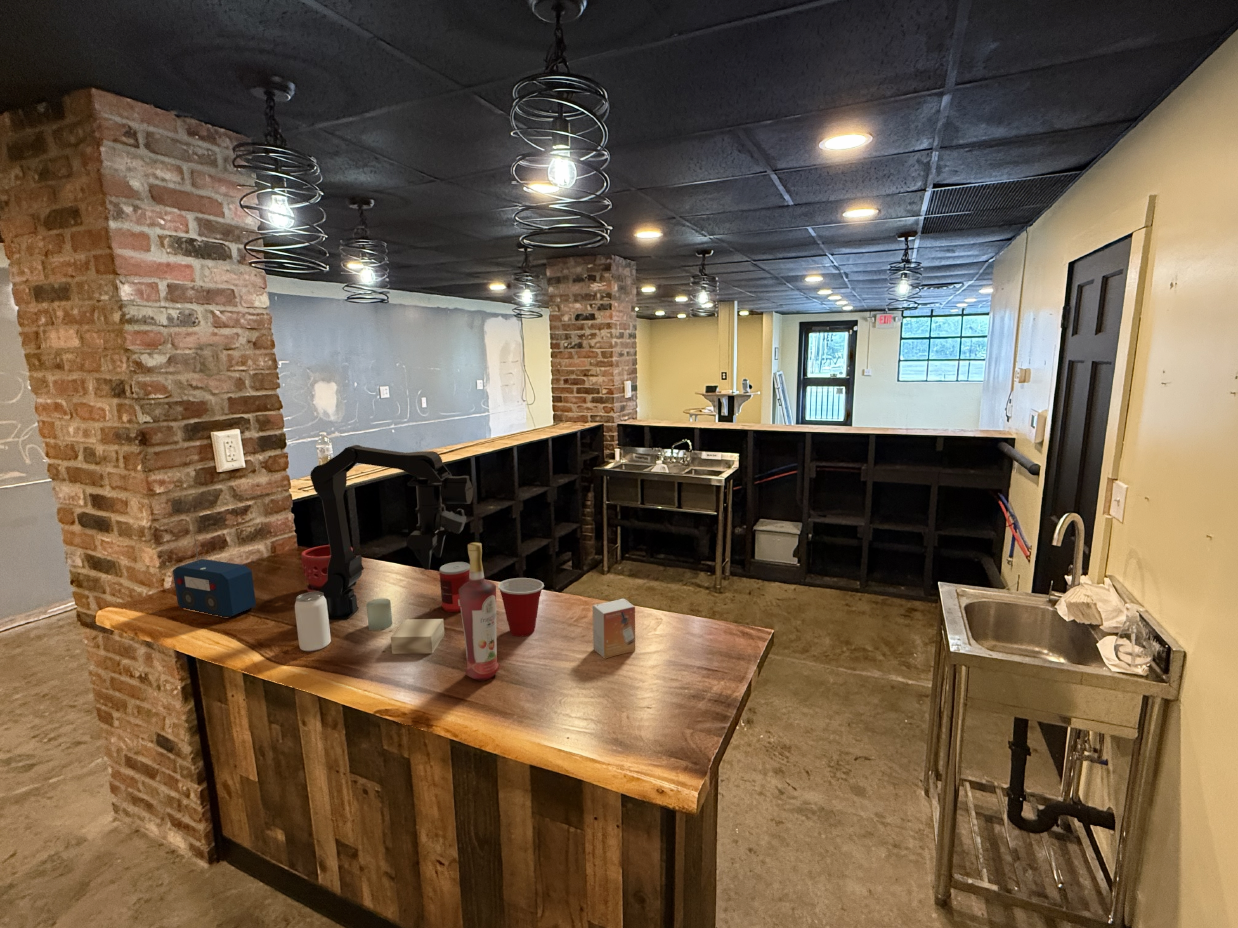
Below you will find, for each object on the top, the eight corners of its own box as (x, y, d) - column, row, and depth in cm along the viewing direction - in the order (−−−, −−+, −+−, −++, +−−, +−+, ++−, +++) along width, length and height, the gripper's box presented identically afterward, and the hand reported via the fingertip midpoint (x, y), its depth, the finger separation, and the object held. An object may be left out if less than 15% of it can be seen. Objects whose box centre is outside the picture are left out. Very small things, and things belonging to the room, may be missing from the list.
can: (337, 640, 139) (332, 592, 137) (315, 653, 133) (309, 603, 131) (315, 637, 141) (310, 589, 139) (293, 649, 135) (286, 599, 133)
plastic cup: (555, 629, 142) (553, 582, 140) (519, 646, 135) (516, 596, 133) (527, 617, 150) (524, 571, 148) (491, 631, 142) (488, 584, 140)
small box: (603, 659, 128) (602, 613, 126) (592, 648, 133) (591, 604, 131) (636, 650, 131) (635, 606, 130) (624, 640, 136) (623, 597, 135)
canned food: (476, 600, 161) (474, 561, 159) (466, 613, 153) (463, 572, 151) (449, 599, 162) (446, 561, 160) (437, 612, 154) (434, 571, 152)
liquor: (483, 688, 118) (474, 552, 113) (457, 678, 121) (447, 546, 117) (508, 671, 124) (501, 542, 119) (482, 662, 128) (474, 537, 123)
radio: (173, 611, 158) (161, 538, 154) (205, 598, 166) (195, 529, 162) (228, 622, 150) (217, 546, 147) (259, 608, 158) (250, 536, 155)
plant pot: (343, 598, 164) (338, 556, 162) (296, 599, 164) (291, 557, 162) (363, 581, 177) (360, 542, 175) (320, 581, 177) (315, 542, 175)
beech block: (392, 653, 132) (390, 636, 132) (406, 635, 141) (405, 619, 140) (432, 653, 132) (431, 636, 131) (444, 634, 141) (443, 618, 140)
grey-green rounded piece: (364, 630, 144) (362, 607, 143) (374, 620, 149) (371, 598, 148) (387, 630, 144) (385, 607, 143) (395, 620, 149) (393, 598, 148)
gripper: (451, 512, 138) (454, 576, 141) (471, 494, 156) (473, 551, 159) (403, 512, 138) (407, 576, 141) (429, 494, 156) (432, 551, 159)
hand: (433, 563), depth 150 cm, fingers open, 9 cm apart
